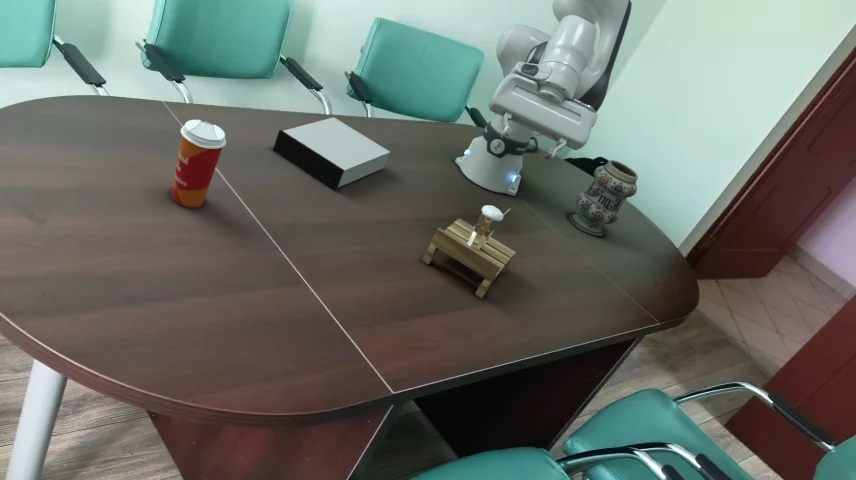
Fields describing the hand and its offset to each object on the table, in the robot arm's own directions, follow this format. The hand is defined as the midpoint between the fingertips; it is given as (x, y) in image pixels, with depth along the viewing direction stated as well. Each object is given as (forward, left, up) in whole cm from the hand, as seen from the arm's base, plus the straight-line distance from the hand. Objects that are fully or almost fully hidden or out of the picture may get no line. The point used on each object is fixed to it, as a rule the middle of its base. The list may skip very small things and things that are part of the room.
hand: (526, 147), depth 129 cm
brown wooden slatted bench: (+5, +2, -26) cm, 26 cm away
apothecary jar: (-52, +18, -26) cm, 61 cm away
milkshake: (+5, +2, -21) cm, 22 cm away
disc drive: (-4, -39, -26) cm, 47 cm away
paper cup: (+40, -43, -26) cm, 65 cm away
